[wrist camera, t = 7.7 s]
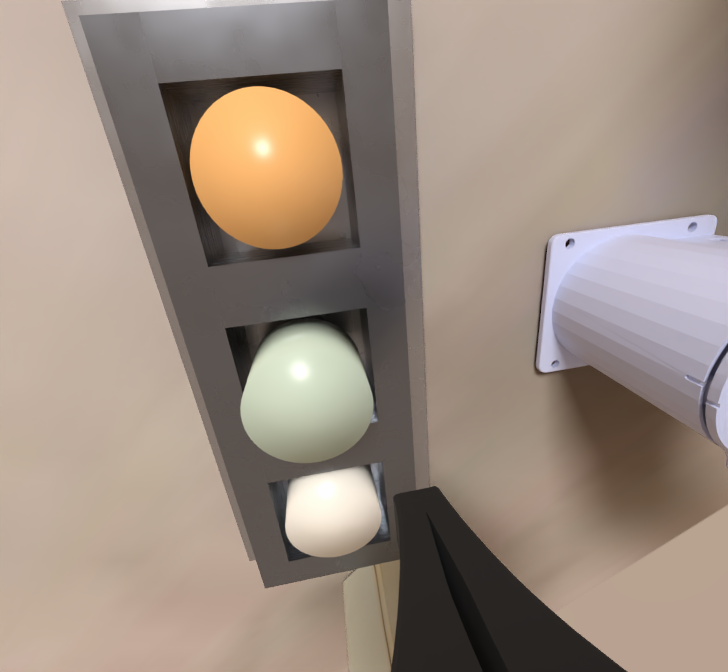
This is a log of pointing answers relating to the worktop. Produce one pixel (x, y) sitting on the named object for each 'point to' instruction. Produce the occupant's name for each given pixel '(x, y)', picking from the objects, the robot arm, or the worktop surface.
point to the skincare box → (371, 616)
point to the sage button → (306, 393)
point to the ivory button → (332, 511)
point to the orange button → (266, 167)
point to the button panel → (276, 266)
